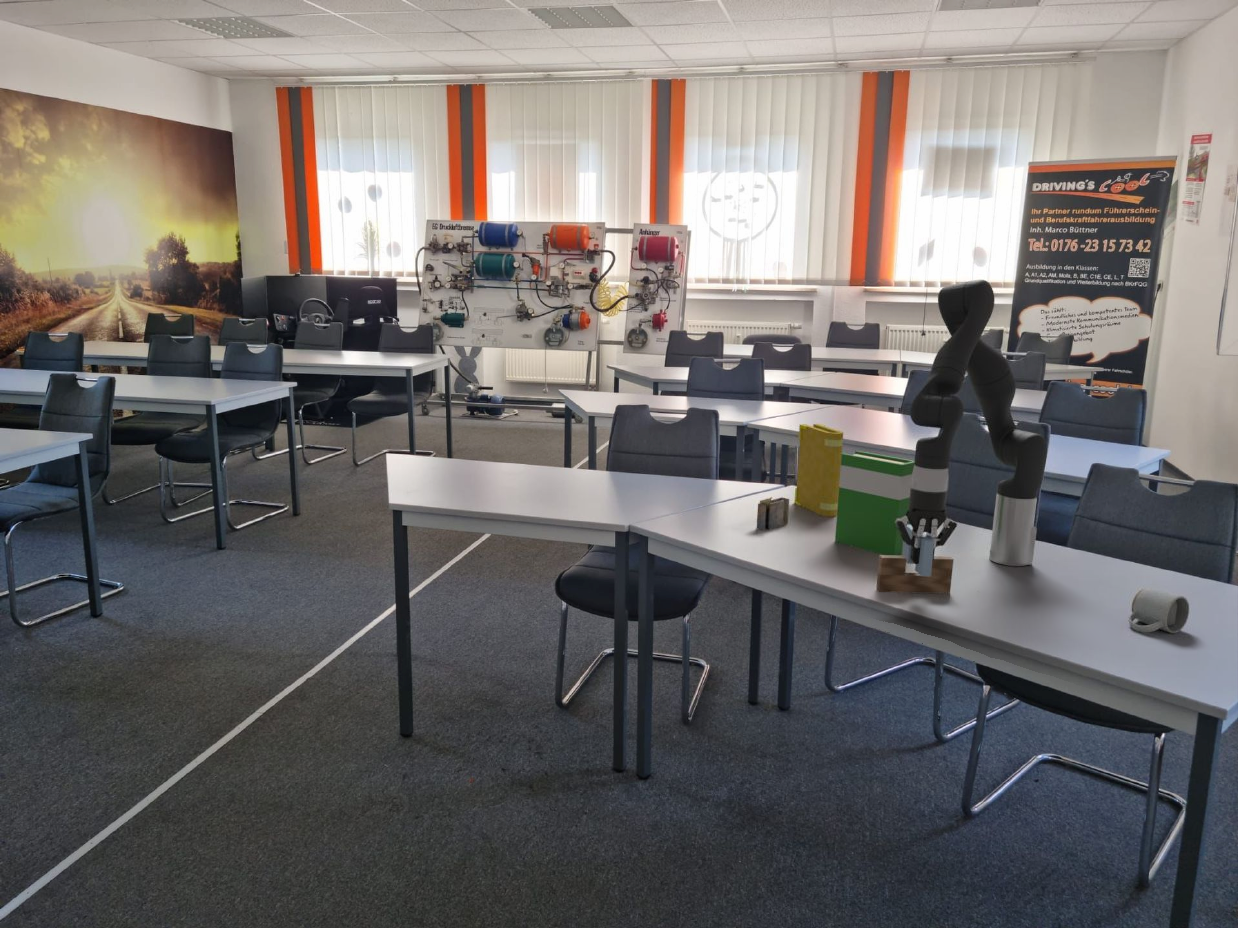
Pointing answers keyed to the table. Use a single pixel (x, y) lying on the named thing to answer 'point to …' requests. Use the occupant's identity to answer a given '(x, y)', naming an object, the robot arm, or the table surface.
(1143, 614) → the ceramic mug
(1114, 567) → the table surface
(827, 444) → the book
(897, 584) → the walnut plate
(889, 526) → the hardback book
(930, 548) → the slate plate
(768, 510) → the weathered grey slotted block
